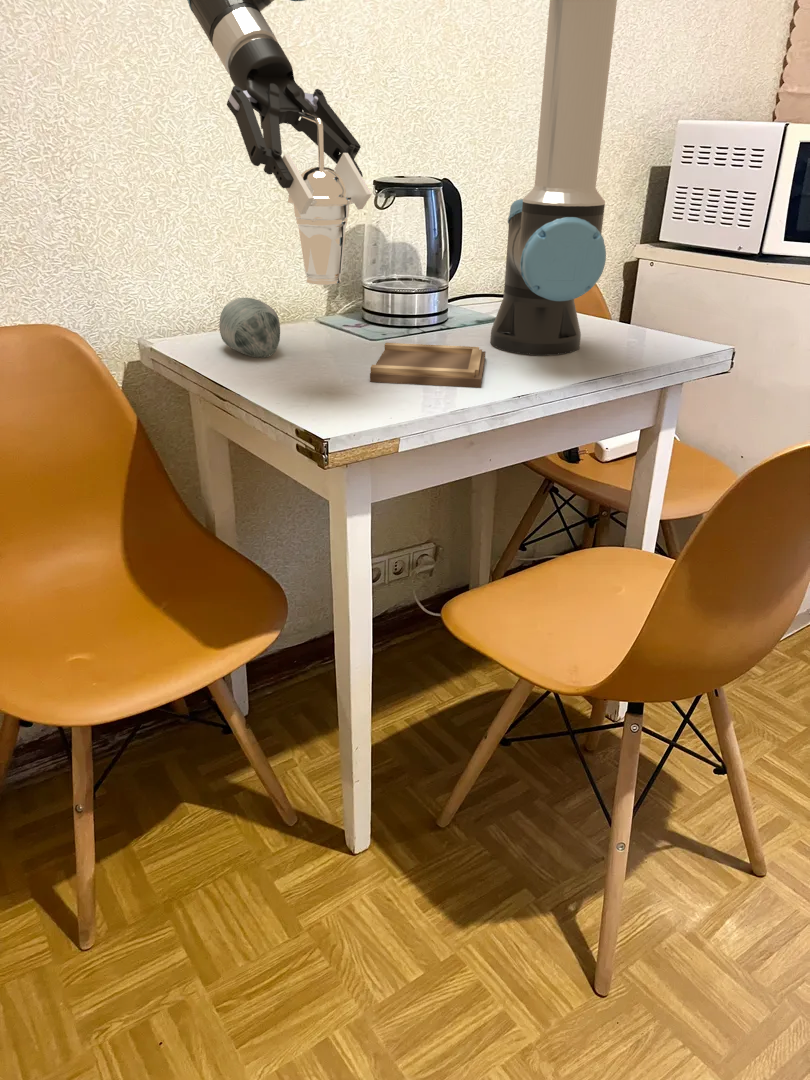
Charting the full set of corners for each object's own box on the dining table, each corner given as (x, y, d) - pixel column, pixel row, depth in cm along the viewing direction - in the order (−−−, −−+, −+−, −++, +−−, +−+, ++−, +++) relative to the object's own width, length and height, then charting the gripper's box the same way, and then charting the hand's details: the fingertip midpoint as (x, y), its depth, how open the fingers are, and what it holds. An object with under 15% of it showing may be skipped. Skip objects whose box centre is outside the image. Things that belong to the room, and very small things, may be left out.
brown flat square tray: (485, 359, 131) (485, 346, 130) (480, 387, 117) (481, 373, 116) (386, 354, 133) (386, 341, 132) (370, 381, 119) (369, 368, 118)
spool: (299, 338, 128) (263, 280, 124) (247, 371, 126) (210, 313, 123) (285, 340, 140) (252, 287, 137) (238, 369, 139) (204, 317, 136)
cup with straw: (290, 287, 104) (281, 109, 95) (292, 275, 112) (284, 110, 103) (357, 287, 104) (355, 110, 95) (354, 275, 112) (352, 111, 103)
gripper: (309, 86, 114) (386, 219, 111) (171, 82, 101) (254, 231, 98) (331, 39, 108) (413, 178, 105) (188, 28, 95) (276, 185, 92)
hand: (336, 203), depth 101 cm, fingers closed on cup with straw, 8 cm apart
